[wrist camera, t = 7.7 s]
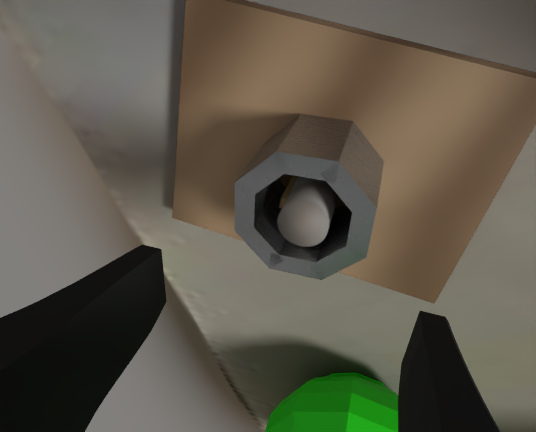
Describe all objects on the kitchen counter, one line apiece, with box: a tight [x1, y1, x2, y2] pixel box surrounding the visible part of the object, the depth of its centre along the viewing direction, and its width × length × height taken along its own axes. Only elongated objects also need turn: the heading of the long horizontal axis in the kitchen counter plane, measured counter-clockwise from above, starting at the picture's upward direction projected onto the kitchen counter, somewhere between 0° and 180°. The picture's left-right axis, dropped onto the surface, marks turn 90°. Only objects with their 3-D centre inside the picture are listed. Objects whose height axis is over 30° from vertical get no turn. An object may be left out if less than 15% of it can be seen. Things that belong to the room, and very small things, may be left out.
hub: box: [234, 114, 384, 280], centre depth 18 cm, size 5×5×4 cm
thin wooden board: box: [172, 0, 536, 303], centre depth 18 cm, size 14×11×4 cm
